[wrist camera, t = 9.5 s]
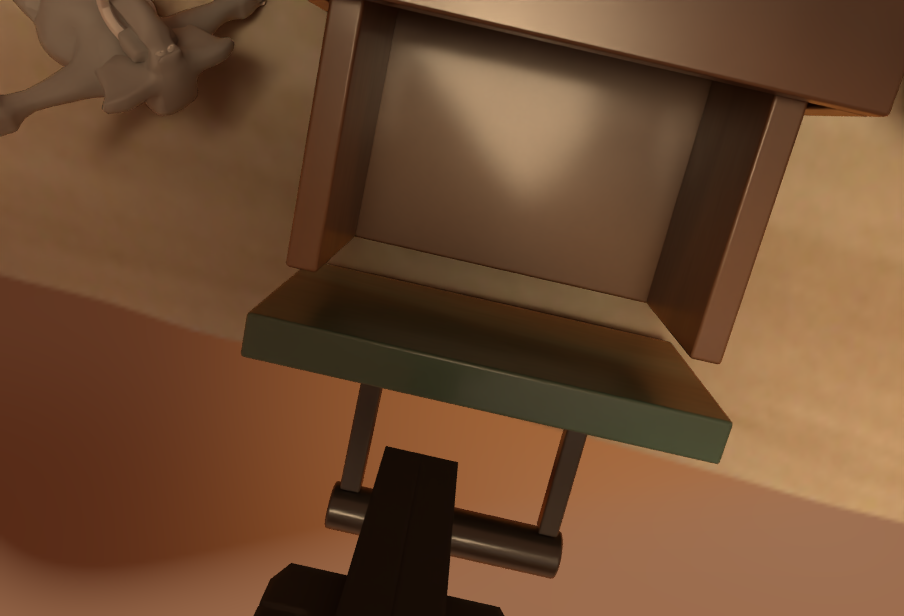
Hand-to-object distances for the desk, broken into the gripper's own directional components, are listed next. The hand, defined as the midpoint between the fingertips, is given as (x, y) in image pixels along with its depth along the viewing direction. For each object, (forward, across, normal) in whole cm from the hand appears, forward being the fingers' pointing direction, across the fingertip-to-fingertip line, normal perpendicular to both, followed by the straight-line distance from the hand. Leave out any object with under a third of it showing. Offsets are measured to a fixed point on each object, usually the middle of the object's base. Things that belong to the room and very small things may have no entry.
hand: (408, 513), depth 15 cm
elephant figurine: (+12, -12, +8) cm, 19 cm away
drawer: (+11, +1, +5) cm, 12 cm away
